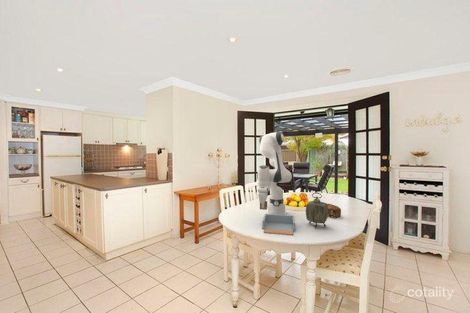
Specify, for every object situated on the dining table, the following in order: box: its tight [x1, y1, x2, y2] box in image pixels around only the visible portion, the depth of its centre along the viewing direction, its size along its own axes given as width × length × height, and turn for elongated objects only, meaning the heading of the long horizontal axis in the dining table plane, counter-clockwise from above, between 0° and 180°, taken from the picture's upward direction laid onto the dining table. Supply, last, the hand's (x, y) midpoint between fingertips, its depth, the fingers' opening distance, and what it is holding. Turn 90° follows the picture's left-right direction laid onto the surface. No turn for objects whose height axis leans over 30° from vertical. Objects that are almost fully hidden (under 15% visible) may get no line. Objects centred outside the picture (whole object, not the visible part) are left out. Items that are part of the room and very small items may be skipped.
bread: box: [325, 202, 342, 219], centre depth 191 cm, size 19×11×10 cm, turn 37°
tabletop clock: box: [305, 192, 329, 228], centre depth 162 cm, size 14×9×25 cm, turn 59°
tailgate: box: [263, 229, 294, 236], centre depth 148 cm, size 1×19×7 cm
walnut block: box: [259, 200, 268, 211], centre depth 162 cm, size 5×5×5 cm
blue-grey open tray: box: [261, 213, 296, 233], centre depth 159 cm, size 17×22×7 cm
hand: (263, 206), depth 162 cm, fingers closed on walnut block, 5 cm apart
